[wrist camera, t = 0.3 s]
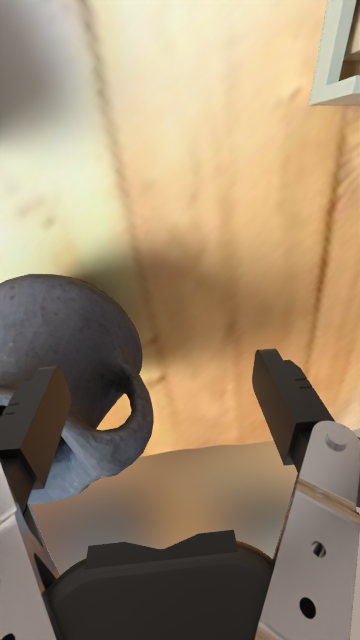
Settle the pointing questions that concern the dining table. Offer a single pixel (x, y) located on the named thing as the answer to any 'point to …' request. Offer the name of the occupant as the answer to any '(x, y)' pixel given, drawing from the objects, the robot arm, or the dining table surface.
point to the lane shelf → (335, 58)
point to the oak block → (354, 36)
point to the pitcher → (76, 374)
